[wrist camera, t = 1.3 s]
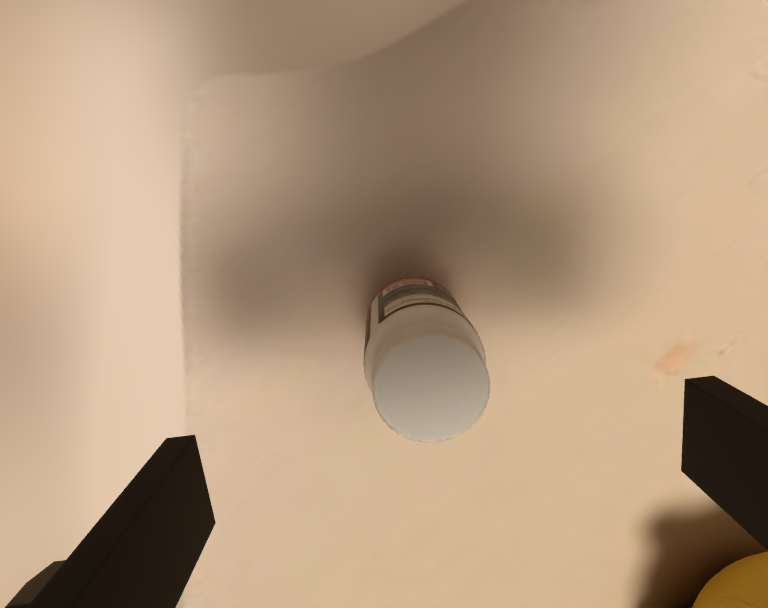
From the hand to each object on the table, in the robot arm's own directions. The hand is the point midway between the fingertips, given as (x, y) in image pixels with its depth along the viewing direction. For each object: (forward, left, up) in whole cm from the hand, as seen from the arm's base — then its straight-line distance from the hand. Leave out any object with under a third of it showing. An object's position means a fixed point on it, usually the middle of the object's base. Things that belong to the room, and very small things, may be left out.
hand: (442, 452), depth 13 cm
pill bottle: (0, 0, -12) cm, 12 cm away
